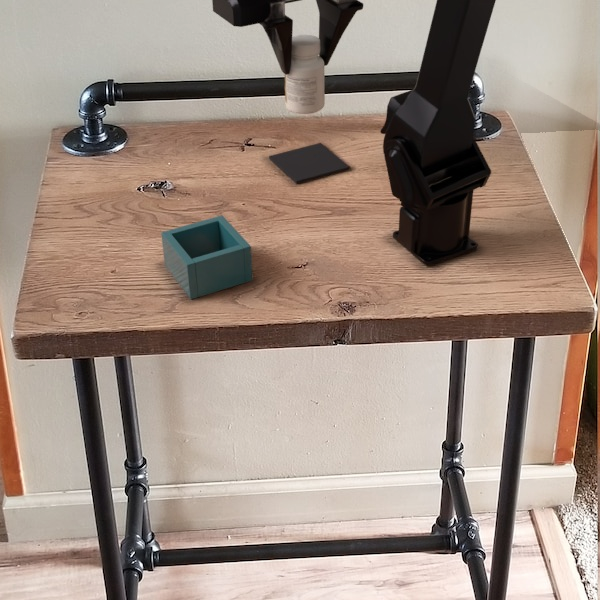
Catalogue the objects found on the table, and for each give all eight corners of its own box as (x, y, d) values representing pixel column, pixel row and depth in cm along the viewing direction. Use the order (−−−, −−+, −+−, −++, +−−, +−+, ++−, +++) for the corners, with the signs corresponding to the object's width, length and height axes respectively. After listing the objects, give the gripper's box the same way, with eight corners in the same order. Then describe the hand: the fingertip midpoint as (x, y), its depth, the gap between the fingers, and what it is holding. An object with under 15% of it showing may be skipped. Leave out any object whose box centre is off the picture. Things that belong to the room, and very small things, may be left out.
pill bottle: (299, 95, 113) (298, 29, 108) (331, 104, 111) (332, 37, 106) (277, 109, 110) (275, 42, 105) (310, 118, 108) (309, 50, 103)
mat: (320, 145, 119) (320, 142, 119) (349, 169, 114) (349, 166, 114) (268, 159, 116) (268, 156, 116) (296, 184, 111) (296, 181, 111)
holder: (224, 248, 101) (222, 214, 98) (252, 280, 96) (251, 246, 94) (164, 266, 98) (160, 232, 96) (190, 299, 94) (187, 265, 91)
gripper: (342, -109, 108) (341, 30, 117) (185, -85, 101) (197, 61, 110) (398, -86, 100) (392, 61, 109) (231, -58, 93) (240, 97, 102)
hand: (304, 68), depth 108 cm, fingers closed on pill bottle, 4 cm apart
